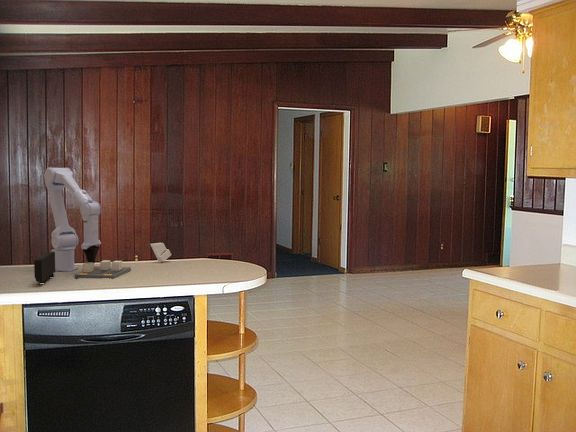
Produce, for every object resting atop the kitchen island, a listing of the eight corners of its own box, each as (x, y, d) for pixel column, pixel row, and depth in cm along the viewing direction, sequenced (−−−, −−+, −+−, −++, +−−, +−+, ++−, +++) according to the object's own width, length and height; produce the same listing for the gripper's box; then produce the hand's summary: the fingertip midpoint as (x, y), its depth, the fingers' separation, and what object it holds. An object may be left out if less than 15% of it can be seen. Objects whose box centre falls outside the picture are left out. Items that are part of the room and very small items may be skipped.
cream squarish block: (112, 270, 236) (111, 262, 236) (115, 268, 240) (115, 260, 240) (119, 270, 236) (119, 262, 236) (122, 269, 240) (122, 260, 240)
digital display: (47, 275, 232) (47, 251, 231) (56, 275, 232) (55, 251, 232) (33, 286, 211) (32, 259, 210) (42, 286, 212) (42, 259, 211)
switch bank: (74, 278, 227) (74, 274, 227) (94, 269, 247) (94, 265, 247) (113, 279, 226) (113, 275, 226) (130, 270, 246) (130, 266, 246)
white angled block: (150, 262, 268) (150, 243, 268) (166, 259, 276) (166, 242, 276) (155, 263, 266) (155, 244, 265) (171, 260, 274) (171, 242, 273)
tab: (100, 270, 237) (100, 261, 236) (103, 268, 241) (103, 260, 240) (107, 270, 236) (107, 262, 236) (110, 268, 240) (110, 260, 240)
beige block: (82, 272, 231) (82, 263, 231) (86, 270, 235) (86, 262, 235) (89, 272, 231) (89, 263, 231) (93, 270, 235) (93, 262, 235)
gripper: (93, 233, 227) (93, 267, 229) (107, 229, 242) (107, 261, 243) (76, 233, 228) (76, 266, 229) (90, 229, 242) (91, 261, 243)
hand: (91, 264), depth 236 cm, fingers closed
